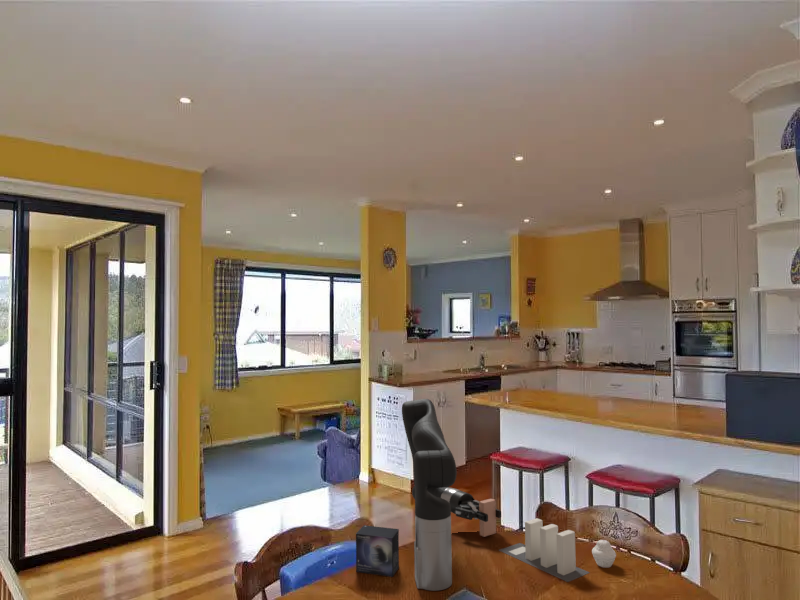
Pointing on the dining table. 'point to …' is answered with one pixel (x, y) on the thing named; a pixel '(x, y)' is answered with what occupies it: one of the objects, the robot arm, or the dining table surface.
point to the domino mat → (520, 554)
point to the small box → (377, 550)
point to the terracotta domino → (490, 509)
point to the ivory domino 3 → (566, 552)
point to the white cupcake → (603, 554)
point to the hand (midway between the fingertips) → (493, 516)
